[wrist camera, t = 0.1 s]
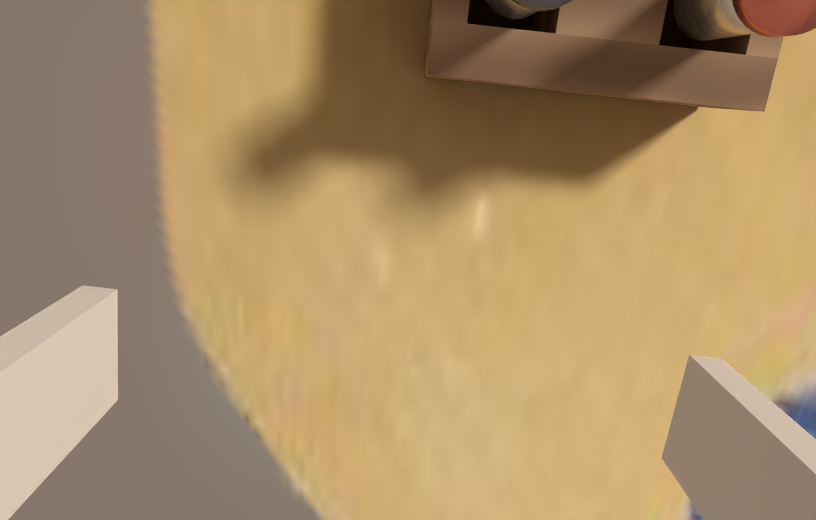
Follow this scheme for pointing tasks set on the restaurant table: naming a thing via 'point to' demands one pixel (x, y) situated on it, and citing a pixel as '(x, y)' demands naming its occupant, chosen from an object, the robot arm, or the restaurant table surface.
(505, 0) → the plug grey
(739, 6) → the plug red
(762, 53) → the block
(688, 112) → the restaurant table surface
